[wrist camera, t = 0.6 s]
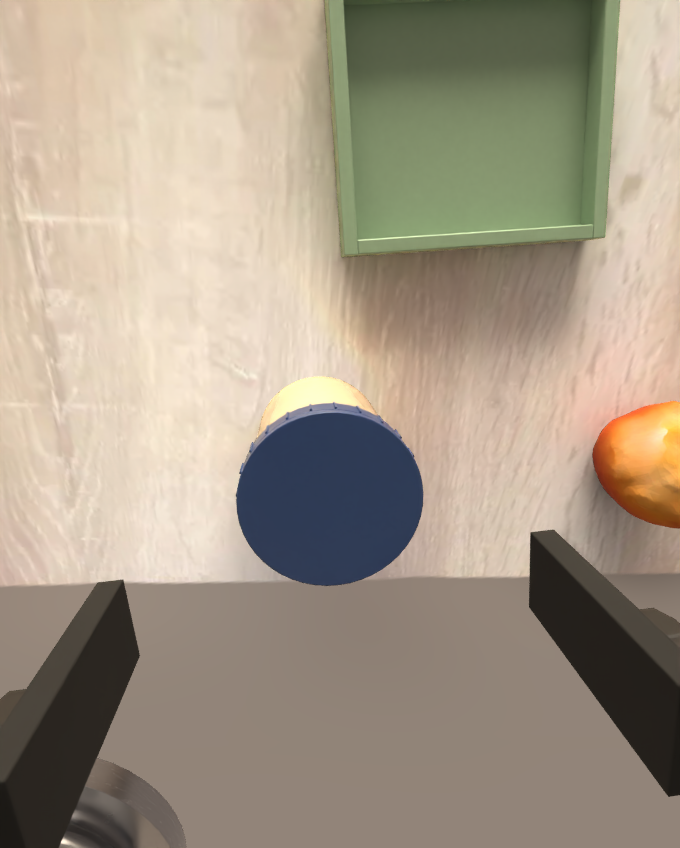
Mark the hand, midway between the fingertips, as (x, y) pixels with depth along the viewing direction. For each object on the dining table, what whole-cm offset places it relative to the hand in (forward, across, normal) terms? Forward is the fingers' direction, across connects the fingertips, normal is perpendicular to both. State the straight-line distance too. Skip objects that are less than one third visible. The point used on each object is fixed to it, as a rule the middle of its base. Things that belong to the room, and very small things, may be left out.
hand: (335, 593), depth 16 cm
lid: (+8, 0, 0) cm, 8 cm away
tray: (+19, +11, +18) cm, 28 cm away
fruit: (+19, +22, -4) cm, 29 cm away
